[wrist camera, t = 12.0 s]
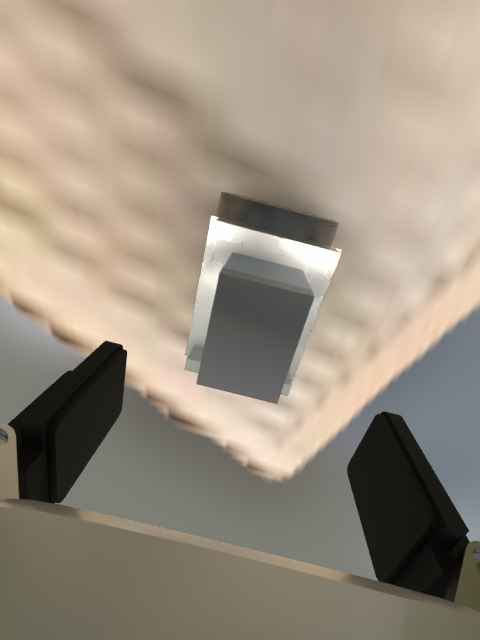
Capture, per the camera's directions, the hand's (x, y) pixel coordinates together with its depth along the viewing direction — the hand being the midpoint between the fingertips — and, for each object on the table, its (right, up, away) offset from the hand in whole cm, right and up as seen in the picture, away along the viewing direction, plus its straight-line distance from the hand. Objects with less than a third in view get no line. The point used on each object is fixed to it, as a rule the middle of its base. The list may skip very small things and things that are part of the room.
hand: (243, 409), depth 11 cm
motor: (+2, +8, +21) cm, 23 cm away
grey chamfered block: (+1, +4, +11) cm, 12 cm away
